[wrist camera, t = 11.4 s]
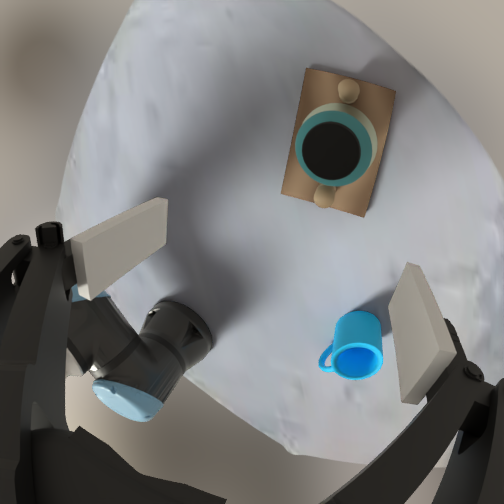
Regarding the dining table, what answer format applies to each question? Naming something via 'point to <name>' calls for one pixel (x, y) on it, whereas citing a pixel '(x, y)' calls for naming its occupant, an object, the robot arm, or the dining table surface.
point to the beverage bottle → (333, 148)
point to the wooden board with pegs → (360, 107)
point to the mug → (355, 347)
